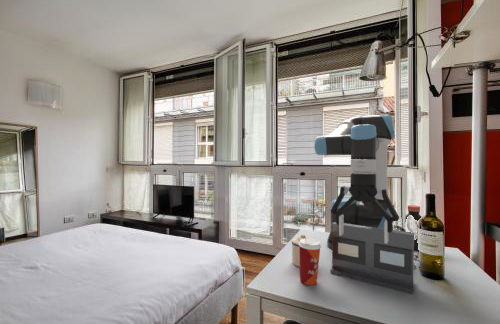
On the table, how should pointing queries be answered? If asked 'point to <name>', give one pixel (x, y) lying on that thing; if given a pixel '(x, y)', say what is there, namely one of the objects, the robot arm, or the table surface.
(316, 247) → the paper cup
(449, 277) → the table surface
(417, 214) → the bottle
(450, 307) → the table surface
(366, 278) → the panel
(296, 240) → the teacup with lid
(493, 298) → the table surface
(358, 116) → the robot arm
